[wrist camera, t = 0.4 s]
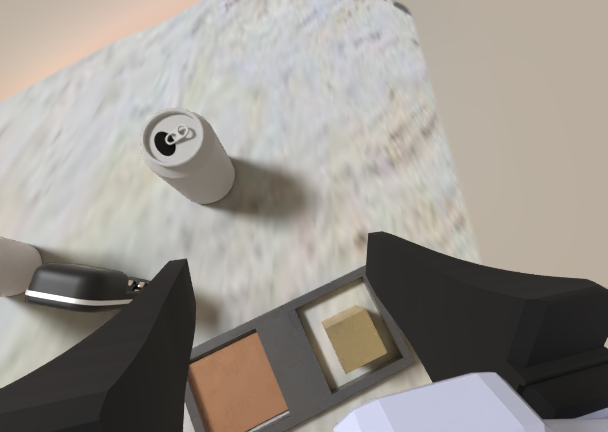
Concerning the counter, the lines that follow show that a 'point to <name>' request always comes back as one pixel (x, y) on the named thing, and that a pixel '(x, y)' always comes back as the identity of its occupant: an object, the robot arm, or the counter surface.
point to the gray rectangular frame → (275, 370)
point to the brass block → (354, 338)
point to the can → (187, 155)
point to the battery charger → (82, 288)
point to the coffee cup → (16, 266)
